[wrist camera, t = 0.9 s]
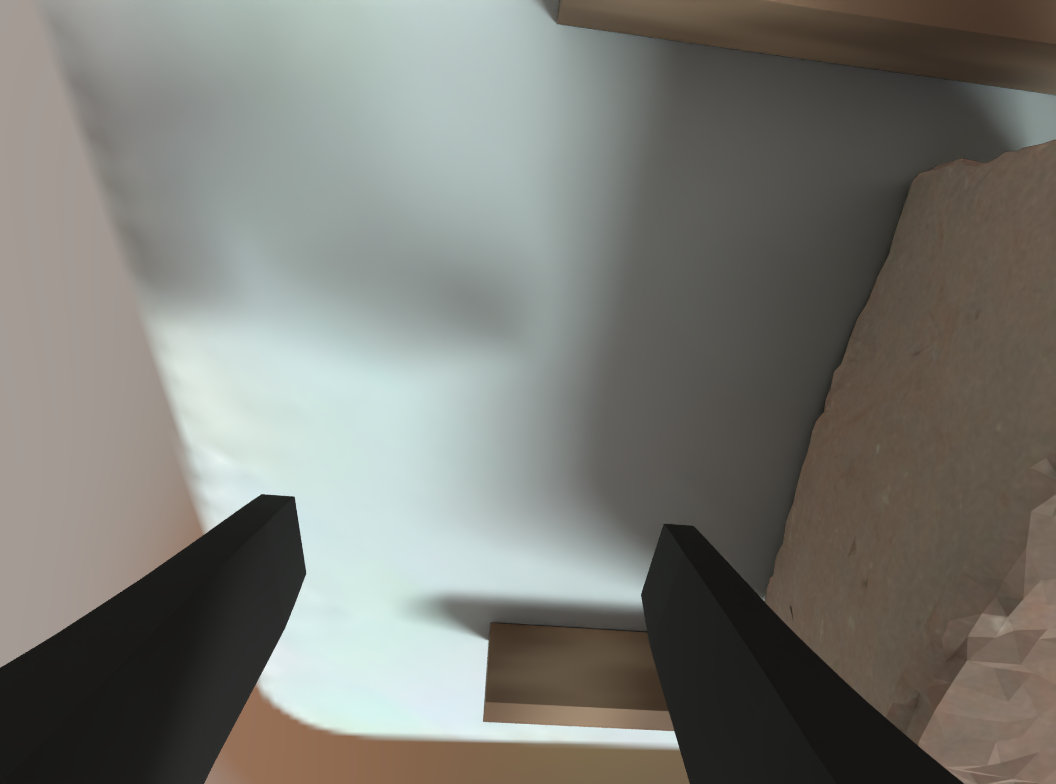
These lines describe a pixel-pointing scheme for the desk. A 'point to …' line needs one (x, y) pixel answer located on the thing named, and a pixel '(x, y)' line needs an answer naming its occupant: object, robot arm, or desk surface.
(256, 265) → the desk surface
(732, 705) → the robot arm
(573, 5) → the lane
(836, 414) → the brick
